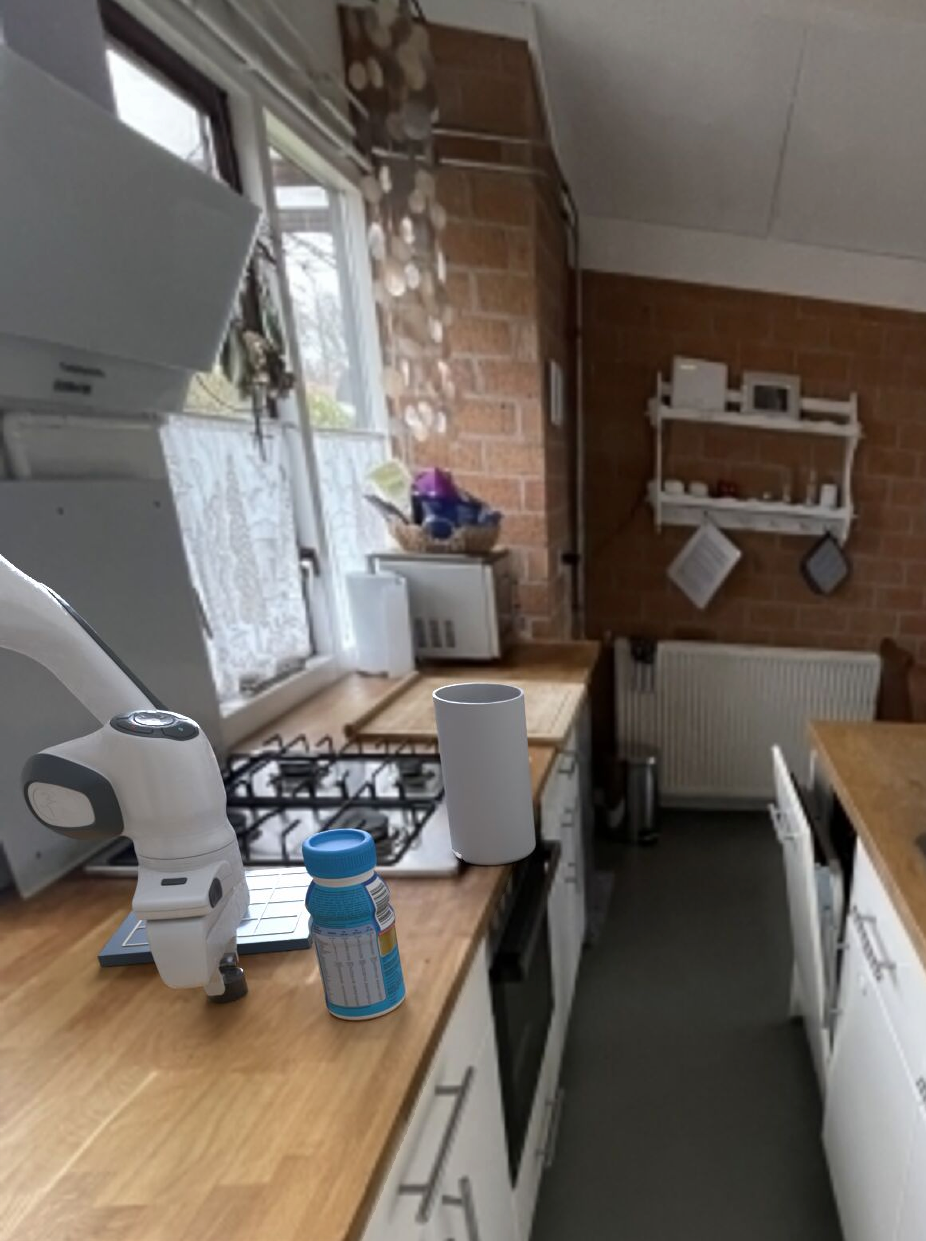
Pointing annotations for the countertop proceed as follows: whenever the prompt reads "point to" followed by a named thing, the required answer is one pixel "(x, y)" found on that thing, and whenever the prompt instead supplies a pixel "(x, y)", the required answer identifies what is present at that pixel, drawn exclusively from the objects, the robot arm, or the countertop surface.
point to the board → (263, 928)
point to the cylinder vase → (486, 771)
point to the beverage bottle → (352, 925)
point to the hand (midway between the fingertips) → (223, 979)
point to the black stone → (231, 985)
